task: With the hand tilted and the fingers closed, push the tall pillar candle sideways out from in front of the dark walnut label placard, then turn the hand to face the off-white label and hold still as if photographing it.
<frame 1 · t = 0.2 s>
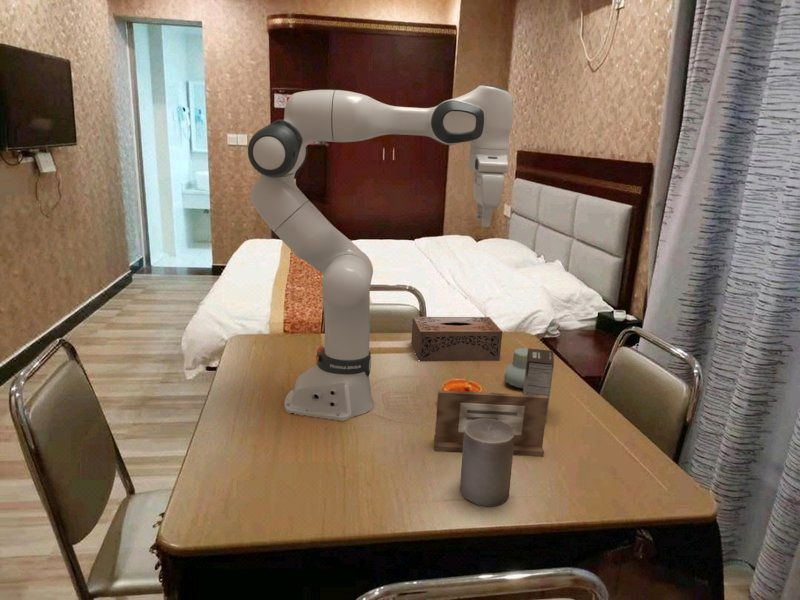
hand: (482, 223, 135), 48 cm above the table, tool pointing down, fingers open, 8 cm apart
pillar candle: (483, 492, 115), on the table
tissue box cover: (454, 353, 187), on the table
medication box: (532, 367, 179), on the table
coffee box: (533, 414, 148), on the table
air freshener: (520, 385, 165), on the table
label placard: (487, 447, 131), on the table
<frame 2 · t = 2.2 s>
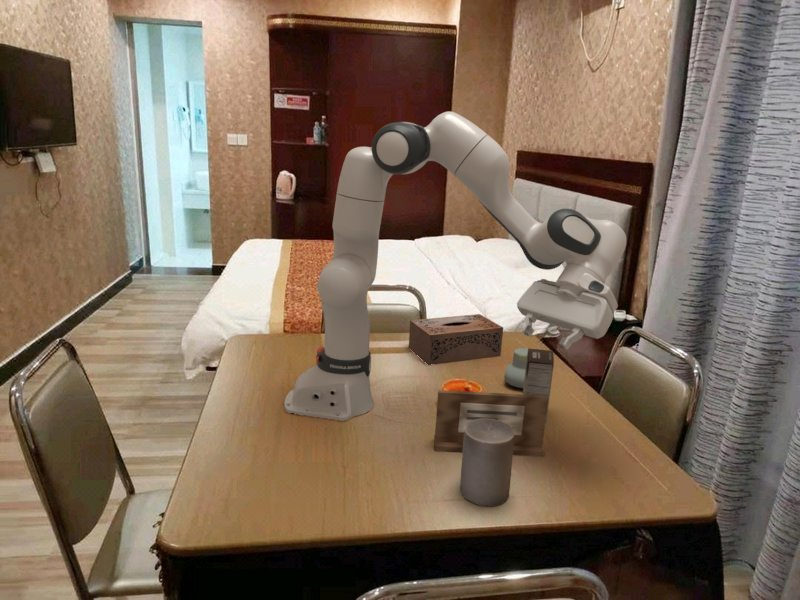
hand: (543, 340, 119), 28 cm above the table, tool tilted 45°, fingers open, 8 cm apart
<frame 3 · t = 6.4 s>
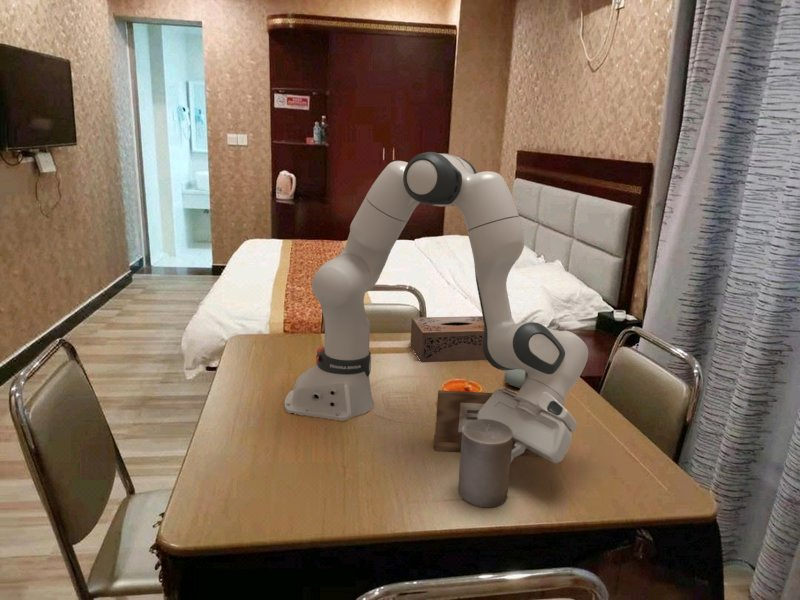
hand: (502, 460, 116), 5 cm above the table, tool tilted 45°, fingers closed, pressing on pillar candle
pillar candle: (481, 493, 114), on the table, touching gripper
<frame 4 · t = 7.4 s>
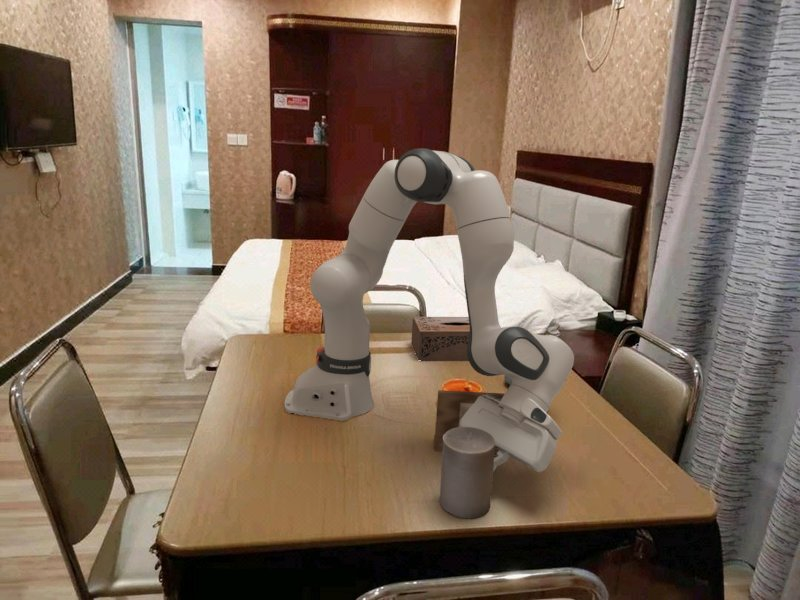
hand: (484, 468, 113), 5 cm above the table, tool tilted 45°, fingers closed, pressing on pillar candle
pillar candle: (463, 504, 111), on the table, touching gripper
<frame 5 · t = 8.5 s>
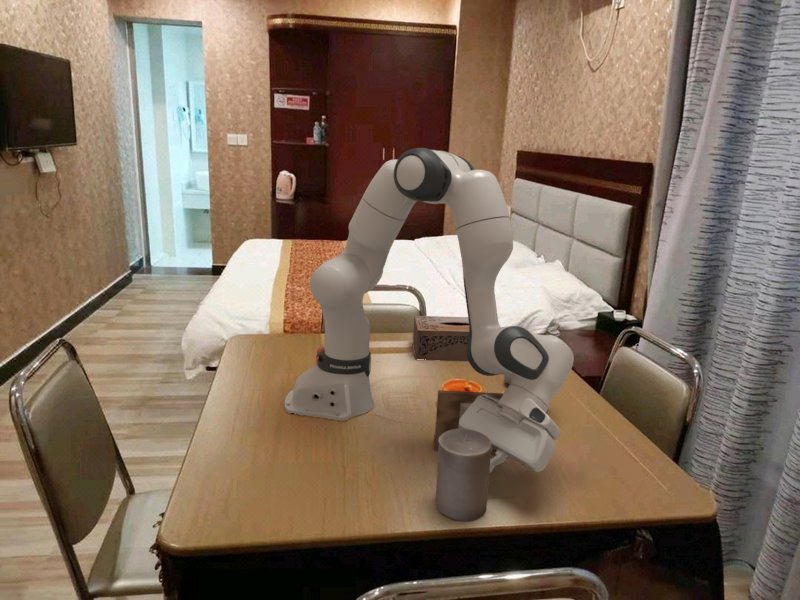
hand: (483, 468, 112), 6 cm above the table, tool tilted 45°, fingers closed
pillar candle: (459, 506, 110), on the table
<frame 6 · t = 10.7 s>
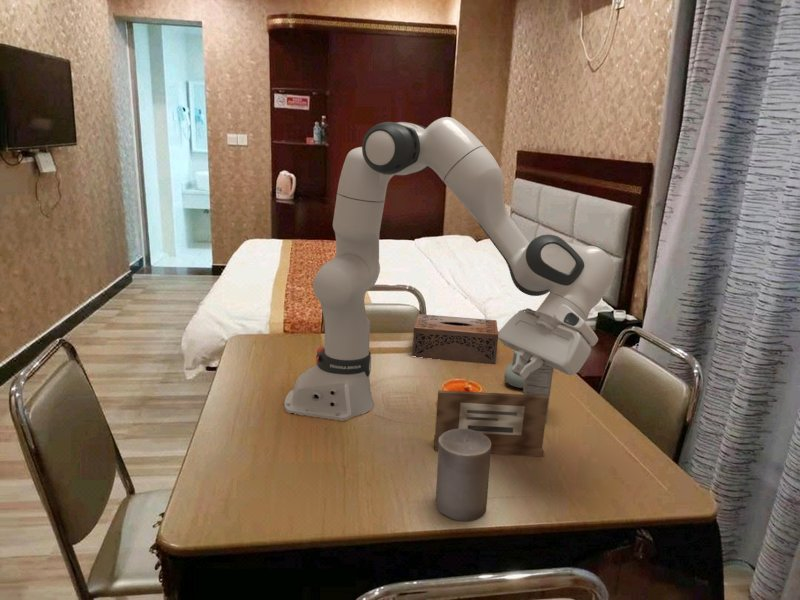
hand: (517, 374, 113), 23 cm above the table, tool tilted 45°, fingers closed
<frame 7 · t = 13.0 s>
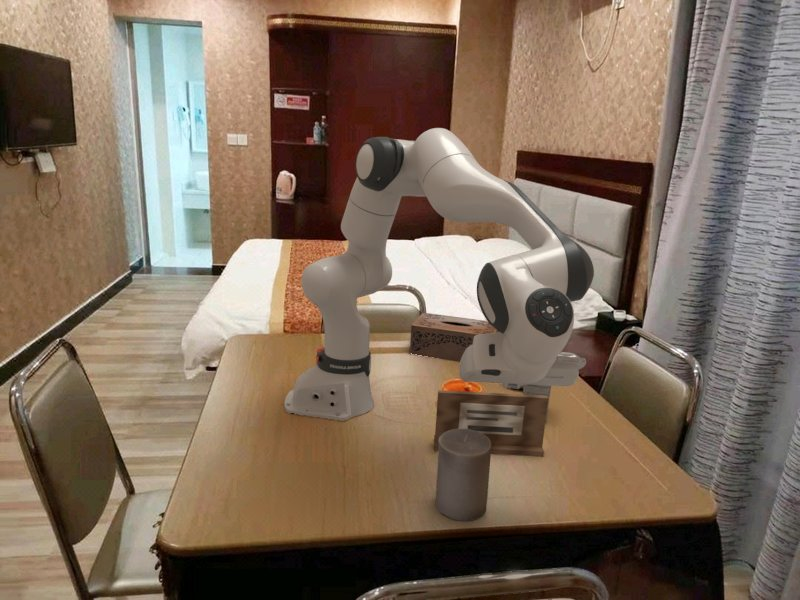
hand: (510, 384, 108), 23 cm above the table, tool tilted 45°, fingers closed
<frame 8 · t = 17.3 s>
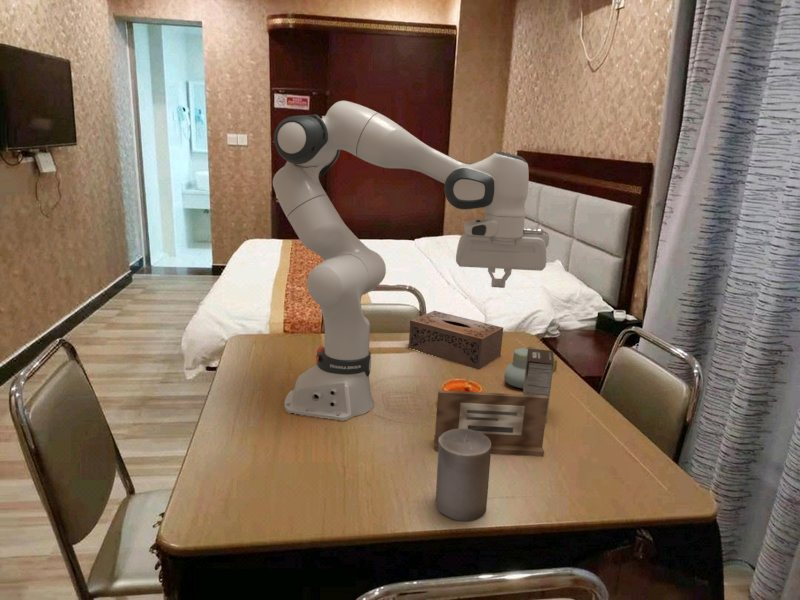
hand: (497, 287, 134), 34 cm above the table, tool pointing down, fingers closed
at the end: pillar candle inside the target area (6.8 cm from its centre), on the table; pillar candle moved 6.9 cm from its start; pillar candle tilted 0° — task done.
